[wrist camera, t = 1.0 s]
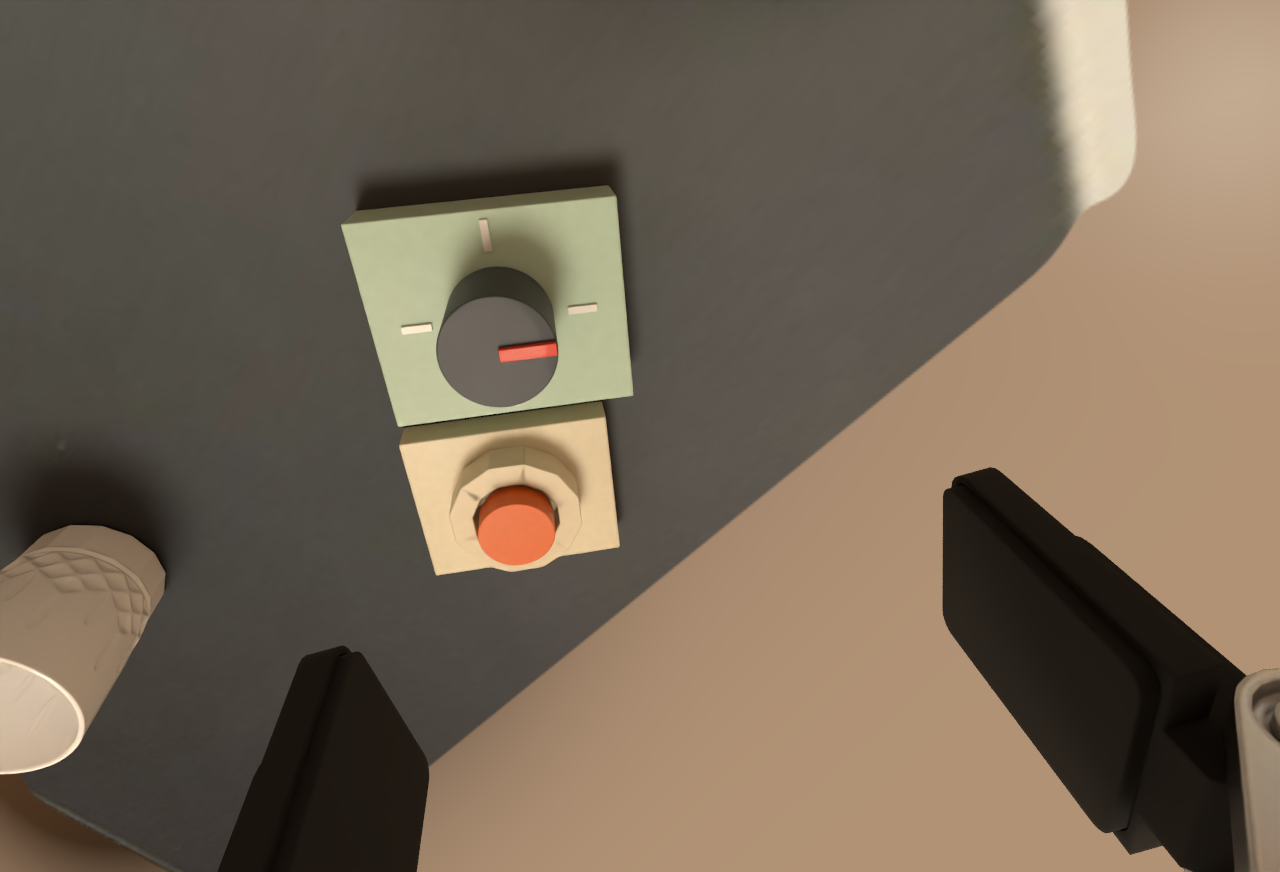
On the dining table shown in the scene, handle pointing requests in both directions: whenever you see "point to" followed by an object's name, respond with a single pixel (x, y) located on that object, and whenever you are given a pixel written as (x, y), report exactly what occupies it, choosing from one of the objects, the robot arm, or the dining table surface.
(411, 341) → the panel
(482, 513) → the button
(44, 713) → the white cup
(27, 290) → the dining table surface
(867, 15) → the dining table surface
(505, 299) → the program dial
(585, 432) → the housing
